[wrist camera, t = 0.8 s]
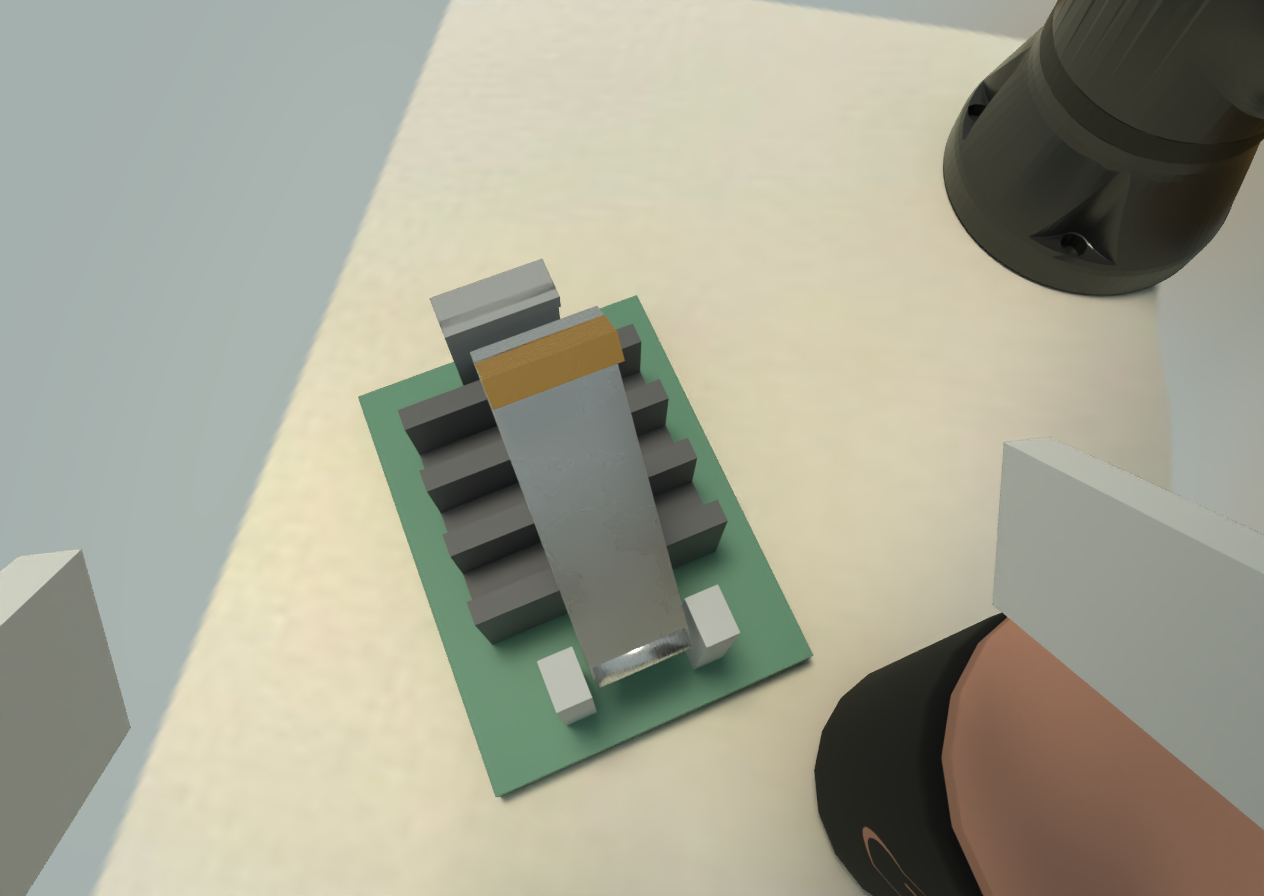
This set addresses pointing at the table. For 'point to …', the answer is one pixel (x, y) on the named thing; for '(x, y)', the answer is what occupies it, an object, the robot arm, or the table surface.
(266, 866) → the table surface
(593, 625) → the silver flat bar
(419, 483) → the cpu board
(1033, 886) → the coffee jar
